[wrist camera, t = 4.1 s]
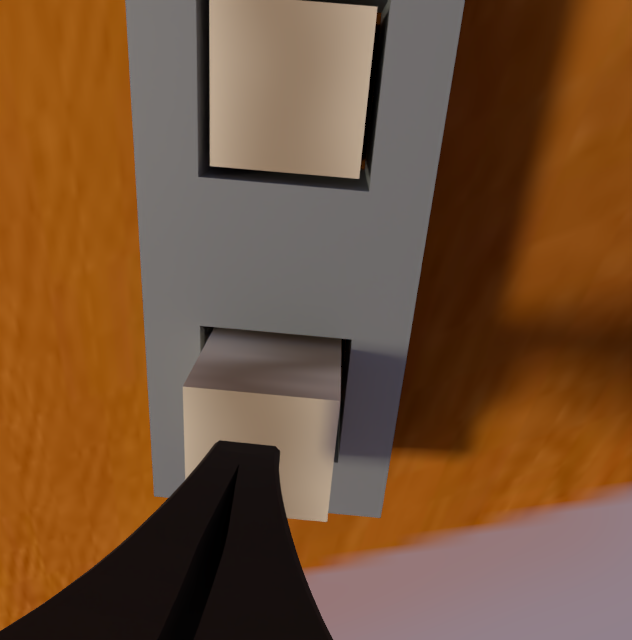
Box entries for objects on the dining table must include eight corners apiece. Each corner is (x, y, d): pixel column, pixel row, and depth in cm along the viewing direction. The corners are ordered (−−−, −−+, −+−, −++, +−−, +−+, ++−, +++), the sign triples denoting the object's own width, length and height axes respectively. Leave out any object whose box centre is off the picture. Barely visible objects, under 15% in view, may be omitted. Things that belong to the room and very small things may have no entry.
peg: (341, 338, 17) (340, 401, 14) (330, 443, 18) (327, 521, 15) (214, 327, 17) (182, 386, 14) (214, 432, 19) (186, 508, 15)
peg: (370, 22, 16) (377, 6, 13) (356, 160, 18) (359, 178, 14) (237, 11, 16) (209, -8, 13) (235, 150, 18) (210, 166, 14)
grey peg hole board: (451, -71, 15) (484, -119, 12) (374, 447, 23) (380, 517, 19) (171, -94, 15) (116, -148, 12) (185, 429, 23) (154, 496, 19)
